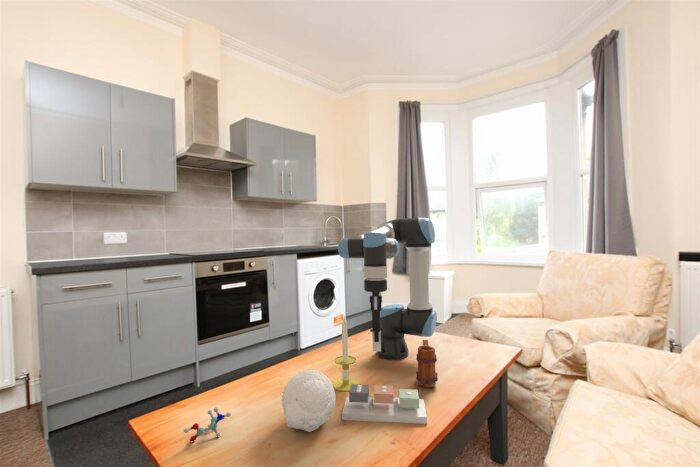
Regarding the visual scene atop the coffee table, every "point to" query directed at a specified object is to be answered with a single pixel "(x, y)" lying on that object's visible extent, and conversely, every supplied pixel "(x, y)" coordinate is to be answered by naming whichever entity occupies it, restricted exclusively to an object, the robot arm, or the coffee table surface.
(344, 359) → the candle
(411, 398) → the tile sage
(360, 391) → the tile charcoal
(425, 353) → the mug
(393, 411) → the board
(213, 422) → the molecular model
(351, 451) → the coffee table surface
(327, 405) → the white rounded lump
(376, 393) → the tile terracotta
